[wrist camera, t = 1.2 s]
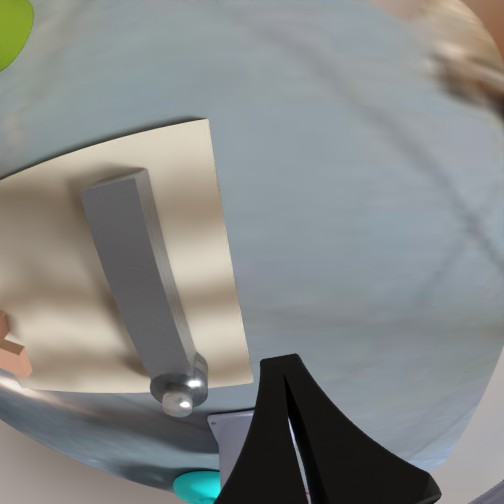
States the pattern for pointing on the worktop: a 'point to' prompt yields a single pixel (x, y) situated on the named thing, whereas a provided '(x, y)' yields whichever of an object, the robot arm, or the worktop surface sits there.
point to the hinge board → (92, 274)
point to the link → (146, 288)
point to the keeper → (12, 352)
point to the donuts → (198, 487)
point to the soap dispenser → (14, 28)
